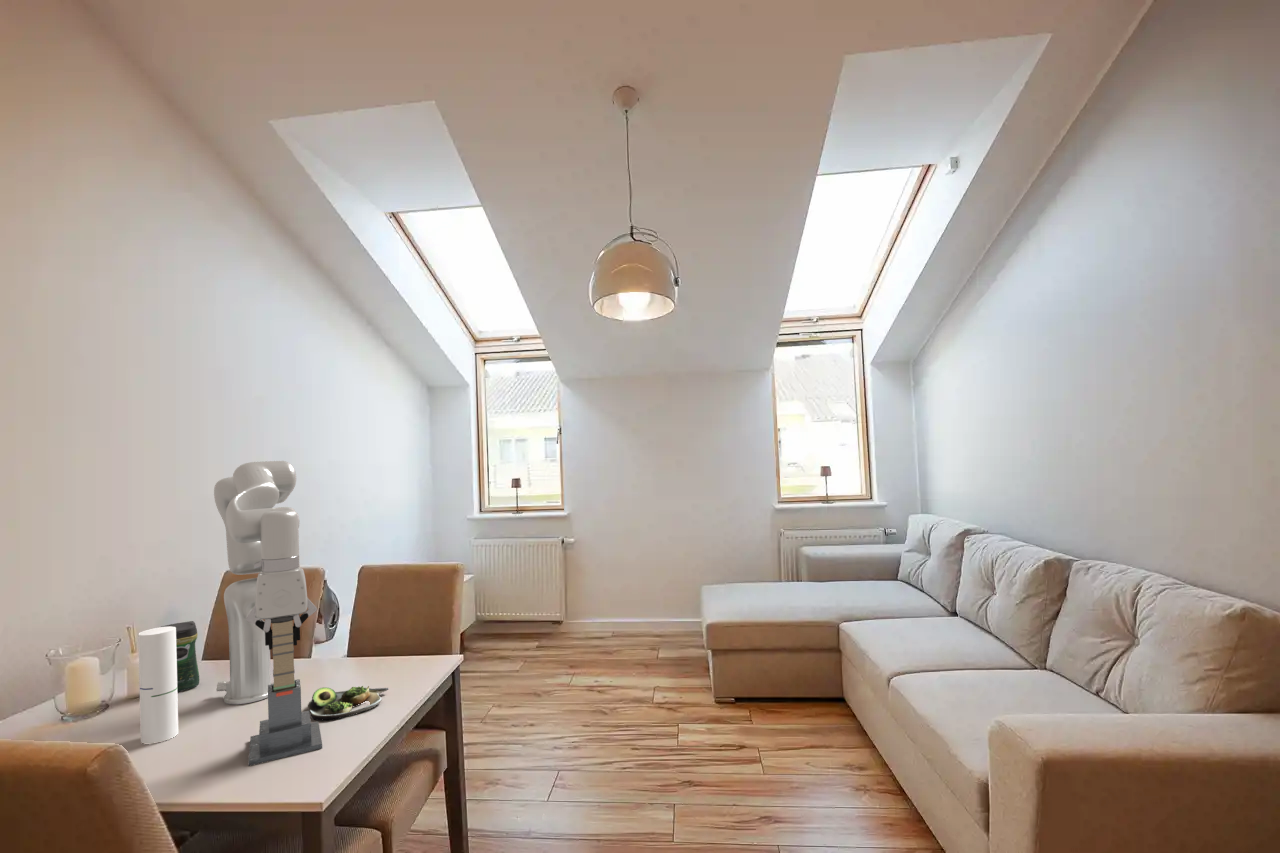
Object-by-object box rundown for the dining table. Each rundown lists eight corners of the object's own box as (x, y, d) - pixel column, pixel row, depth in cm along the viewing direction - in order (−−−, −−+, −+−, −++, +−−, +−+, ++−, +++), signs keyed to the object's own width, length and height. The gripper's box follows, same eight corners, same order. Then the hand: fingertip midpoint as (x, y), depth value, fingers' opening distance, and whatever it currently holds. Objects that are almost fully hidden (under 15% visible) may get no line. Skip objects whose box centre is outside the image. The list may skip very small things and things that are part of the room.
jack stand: (248, 766, 137) (246, 703, 137) (250, 740, 149) (249, 683, 149) (322, 748, 144) (320, 689, 144) (318, 725, 156) (316, 671, 156)
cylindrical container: (153, 732, 156) (151, 627, 157) (185, 729, 157) (182, 625, 158) (133, 745, 149) (130, 636, 150) (166, 743, 150) (163, 634, 150)
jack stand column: (271, 719, 143) (268, 619, 144) (271, 711, 148) (269, 614, 148) (298, 713, 146) (295, 615, 146) (297, 705, 150) (294, 610, 151)
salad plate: (382, 686, 182) (381, 669, 182) (397, 706, 167) (396, 688, 167) (304, 703, 171) (304, 686, 171) (313, 727, 156) (312, 708, 156)
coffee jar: (198, 680, 191) (197, 617, 192) (200, 688, 185) (198, 622, 185) (157, 689, 185) (156, 624, 186) (158, 697, 179) (156, 629, 180)
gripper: (236, 572, 140) (238, 658, 140) (322, 562, 148) (325, 643, 148) (238, 567, 147) (240, 649, 146) (320, 558, 155) (323, 635, 154)
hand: (283, 645), depth 147 cm, fingers closed on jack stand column, 4 cm apart
